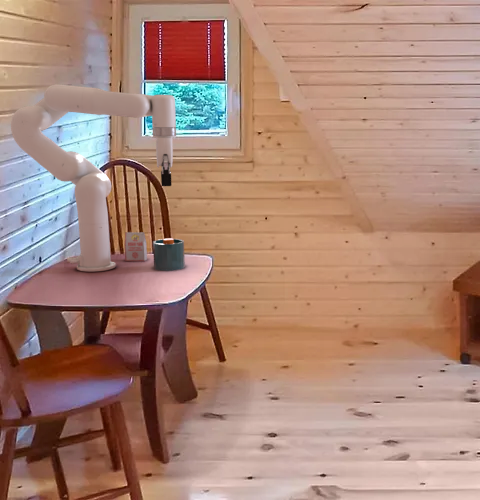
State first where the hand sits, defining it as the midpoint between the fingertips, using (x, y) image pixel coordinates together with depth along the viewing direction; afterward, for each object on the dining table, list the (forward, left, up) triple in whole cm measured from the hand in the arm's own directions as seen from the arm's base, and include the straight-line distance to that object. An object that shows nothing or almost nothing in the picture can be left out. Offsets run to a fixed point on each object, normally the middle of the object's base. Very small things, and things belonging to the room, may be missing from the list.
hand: (166, 184), depth 256 cm
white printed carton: (-11, +14, -29) cm, 34 cm away
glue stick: (0, -1, -28) cm, 28 cm away
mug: (0, +1, -28) cm, 28 cm away
